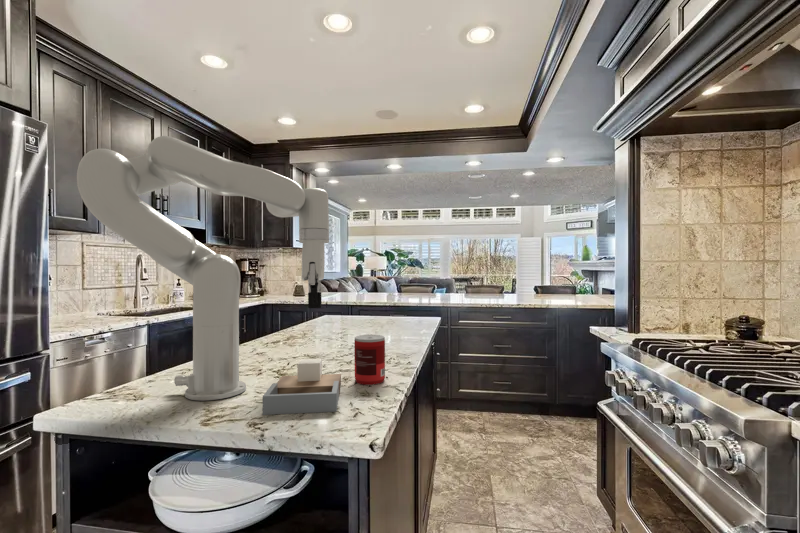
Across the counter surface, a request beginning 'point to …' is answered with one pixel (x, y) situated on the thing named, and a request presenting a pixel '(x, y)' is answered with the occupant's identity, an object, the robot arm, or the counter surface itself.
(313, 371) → the tile block
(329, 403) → the box
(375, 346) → the canned food
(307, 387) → the board
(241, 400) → the counter surface
